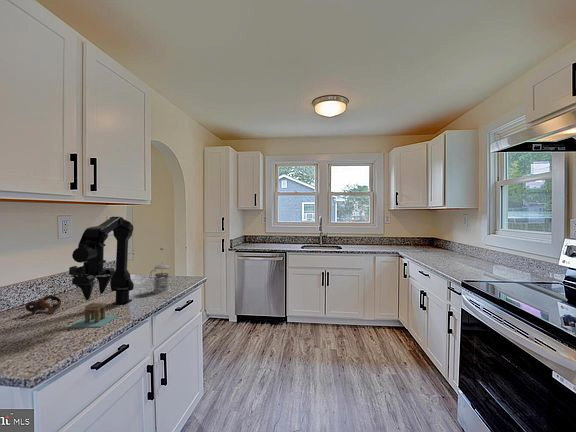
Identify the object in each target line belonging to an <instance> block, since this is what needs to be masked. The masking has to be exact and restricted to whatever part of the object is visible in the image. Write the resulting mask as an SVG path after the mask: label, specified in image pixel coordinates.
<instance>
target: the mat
mask: <svg viewBox="0 0 576 432" xmlns="http://www.w3.org/2000/svg"><path fill="white" fill-rule="evenodd" d="M118 317H119V316H118V314H117V315H115V314H113V315H111V314H109V315H108V314H107V315H106V314H105V319H100V322H98V323H95V319H91V314H90V322H89V323H85V317H84V318H81V319H80V320H78V321H76V322H75V323H72V324H71V325H69V328H102V327H104V326H106V325H107V324H108V323H110V322H111V321H113V320H115V319H116V318H118Z"/></svg>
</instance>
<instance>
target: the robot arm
mask: <svg viewBox="0 0 576 432" xmlns="http://www.w3.org/2000/svg"><path fill="white" fill-rule="evenodd" d="M111 232H113V233H112V234H113V237H114V239H115V240H116V255H115V256H116V258H115V269H114V268H113V267H104V264H105V263H106V262H107V260H106V259H105V260H104V258H105V257H104V250H105V247H106V244H105V242H106V240H107V239H108V238H109V233H111ZM133 232H134V225H133V224H132V223H131V222H130V221H128V220H126V219H125V218H124V217H122V216H111V217H109V218H108V219H107V220H105V221H103V222H102V223H101V224H99V225H96V226H90V227H86V229H84V232H83V233H82V235H81V238H80V240H79V242H78V244H77V246H78V247H77V248H75V249H74V250H73V251H72V254H71V255H72V256H71V257H72V259H73V260H74V262H77V263H80V264H81V263H83V265H81V266H77V265H72V266H71V267H69V268H68V274H69V275H70V276H72V278H71V285H74V287H75V286H76V287H79V288H80V290H81V292H82V295H83V296H84V299H85V301H89V300H90V298H91V295H92V292H93V289H94V287H95V279H96V280H97V281H98V286H99V287H98V288H99V294H104V292H105V291H106V288H107V286H108V285H109V286H110V290H111V292H115V301H114V302H112V305H127V304H129V303H130V302H132V301H133V299H131V298H130V292H131V291H133V290H134V287H135V285H134V282H133V280H132V279H131V273H130V272H129V270H128V255H129V251H128V250H129V240H130V239H131V238H132V236H133Z"/></svg>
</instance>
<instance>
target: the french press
mask: <svg viewBox="0 0 576 432" xmlns="http://www.w3.org/2000/svg"><path fill="white" fill-rule="evenodd" d="M159 249H160V251H163V250H164V247H160V248H159ZM169 268H170V266H169V265H167V264H163V263H161V264H157V265H156V266H154V267H153V269H152V270H151V271H150V272H149V277H148V278H149V280H150V281H152V280H153V281H152V283H153V290H152V292H153V293H152V294H165V293H169V292H171V289H170V276H169V273H168V272H164V273H163V272H159V273H158V272H157V270H166V269H167V270H168V269H169ZM153 272H154V273H155V274H154V278H153V277H152V276H151V275H152V274H153Z"/></svg>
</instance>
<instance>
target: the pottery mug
mask: <svg viewBox="0 0 576 432" xmlns="http://www.w3.org/2000/svg"><path fill="white" fill-rule="evenodd" d="M49 299H50V300H51V301H56V302H57V303H53V304H52V306H51V304H50V303H49V302H47V301H48V300H49ZM61 303H62V299H61V298H60V297H58V296H55V295H43V296H42V297H41V298H40V299H38V300H37V301H29V302H27V303H26V304H25V305H24V308H25V309H26V311H27V312H30V313H32V314H33V315H34V314H35V313H36V312H37V311H45V310H46V309H47V311H46V315H52V314H53V312H57V311H58V310H59V309H60V308H61Z"/></svg>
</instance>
